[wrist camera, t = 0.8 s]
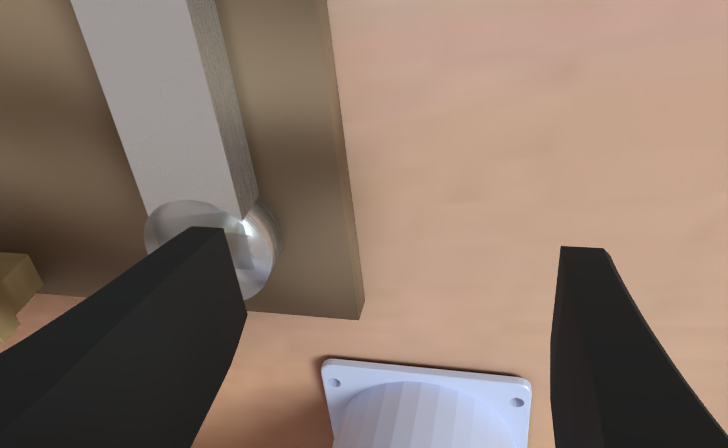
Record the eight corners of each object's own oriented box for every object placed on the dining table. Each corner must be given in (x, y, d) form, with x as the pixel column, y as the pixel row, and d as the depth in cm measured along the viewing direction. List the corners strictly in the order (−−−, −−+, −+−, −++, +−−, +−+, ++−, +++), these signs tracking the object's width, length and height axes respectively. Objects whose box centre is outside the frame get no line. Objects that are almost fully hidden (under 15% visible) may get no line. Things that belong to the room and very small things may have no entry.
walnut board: (365, 300, 23) (338, 388, 20) (-88, 265, 27) (-168, 332, 24) (301, -199, 14) (234, -183, 11) (-350, -129, 19) (-529, -104, 15)
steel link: (292, 278, 21) (268, 330, 19) (183, 270, 22) (150, 319, 20) (194, -185, 13) (139, -174, 12) (32, -168, 14) (-43, -155, 12)
